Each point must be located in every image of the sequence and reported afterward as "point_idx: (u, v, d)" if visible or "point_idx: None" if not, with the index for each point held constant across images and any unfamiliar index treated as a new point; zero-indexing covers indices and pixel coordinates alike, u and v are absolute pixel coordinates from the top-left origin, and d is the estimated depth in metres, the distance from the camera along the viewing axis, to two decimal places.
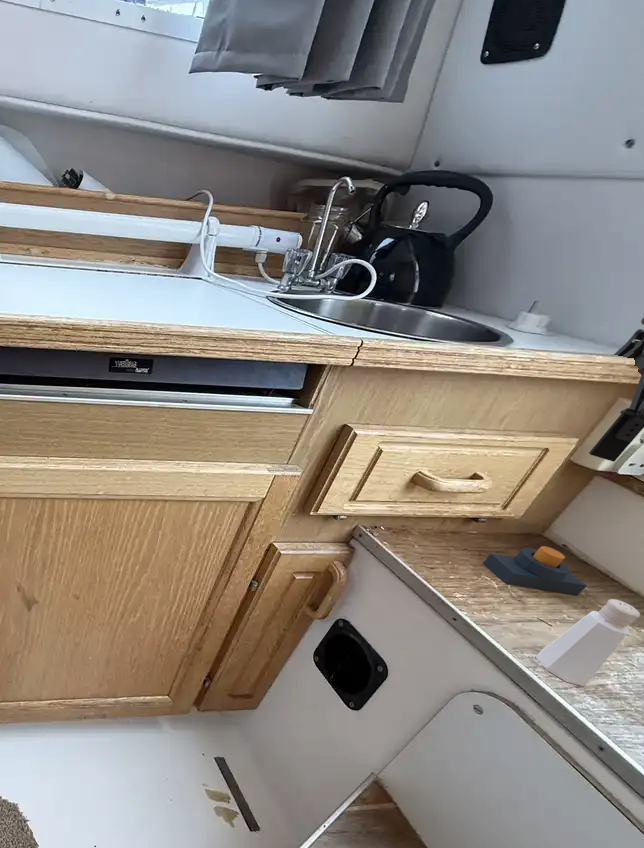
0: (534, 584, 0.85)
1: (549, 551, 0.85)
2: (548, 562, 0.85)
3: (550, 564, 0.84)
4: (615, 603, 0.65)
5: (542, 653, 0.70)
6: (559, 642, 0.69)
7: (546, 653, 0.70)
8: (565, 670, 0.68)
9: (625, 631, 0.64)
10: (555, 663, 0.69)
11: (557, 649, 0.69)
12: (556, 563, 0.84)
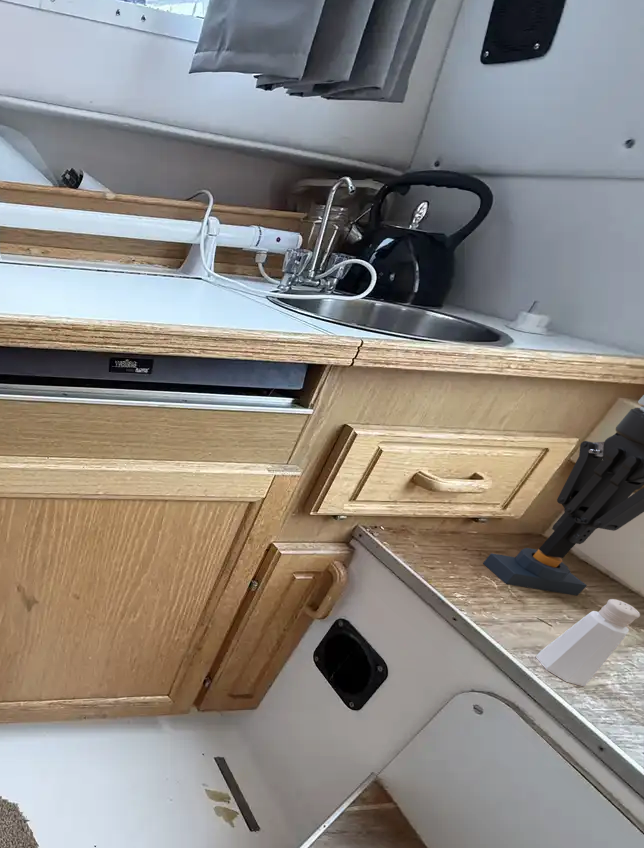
0: (534, 584, 0.85)
1: None
2: None
3: None
4: (615, 603, 0.65)
5: (542, 653, 0.70)
6: (559, 642, 0.69)
7: (546, 653, 0.70)
8: (565, 670, 0.68)
9: (625, 631, 0.64)
10: (555, 663, 0.69)
11: (557, 649, 0.69)
12: (553, 566, 0.84)
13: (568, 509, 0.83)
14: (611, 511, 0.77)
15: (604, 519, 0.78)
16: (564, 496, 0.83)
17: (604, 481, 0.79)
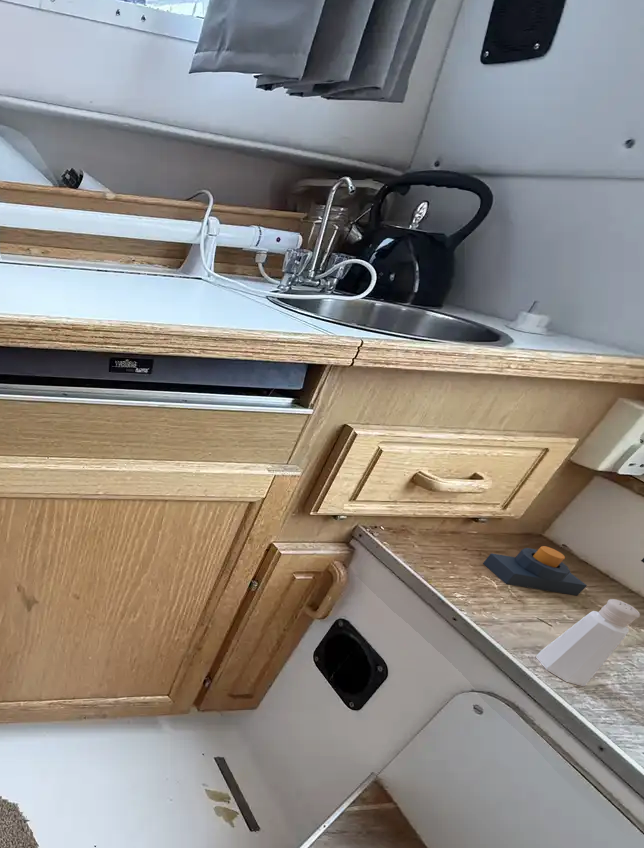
0: (534, 584, 0.85)
1: (549, 551, 0.85)
2: (548, 562, 0.85)
3: (550, 564, 0.84)
4: (615, 603, 0.65)
5: (542, 653, 0.70)
6: (559, 642, 0.69)
7: (546, 653, 0.70)
8: (565, 670, 0.68)
9: (625, 631, 0.64)
10: (555, 663, 0.69)
11: (557, 649, 0.69)
12: (556, 563, 0.84)
13: None
14: None
15: None
16: None
17: None
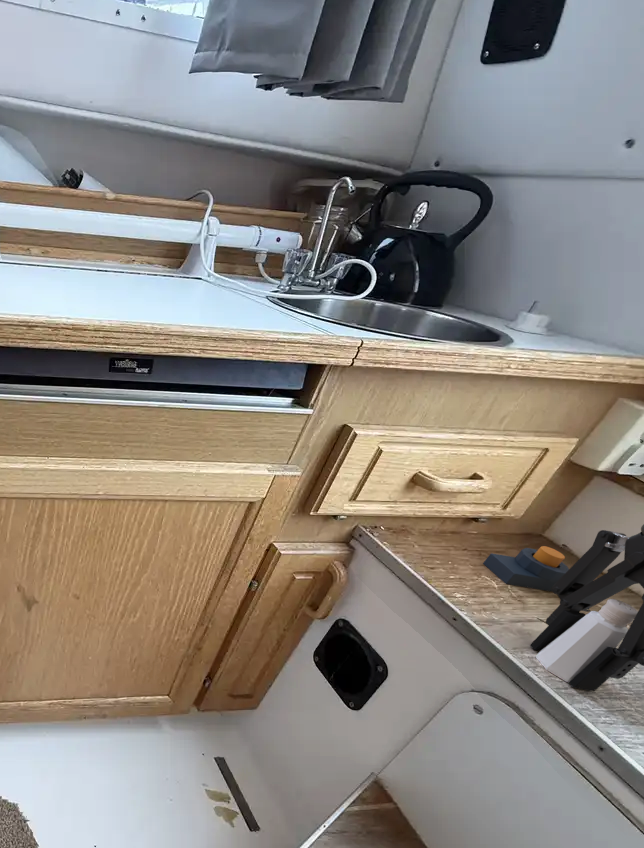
0: (534, 584, 0.85)
1: (549, 551, 0.85)
2: (548, 562, 0.85)
3: (550, 564, 0.84)
4: (615, 603, 0.65)
5: (542, 653, 0.70)
6: (559, 642, 0.69)
7: (546, 653, 0.70)
8: (565, 670, 0.68)
9: (625, 631, 0.64)
10: (555, 663, 0.69)
11: (557, 649, 0.69)
12: (556, 563, 0.84)
13: (564, 602, 0.70)
14: None
15: None
16: (561, 586, 0.70)
17: (617, 584, 0.65)
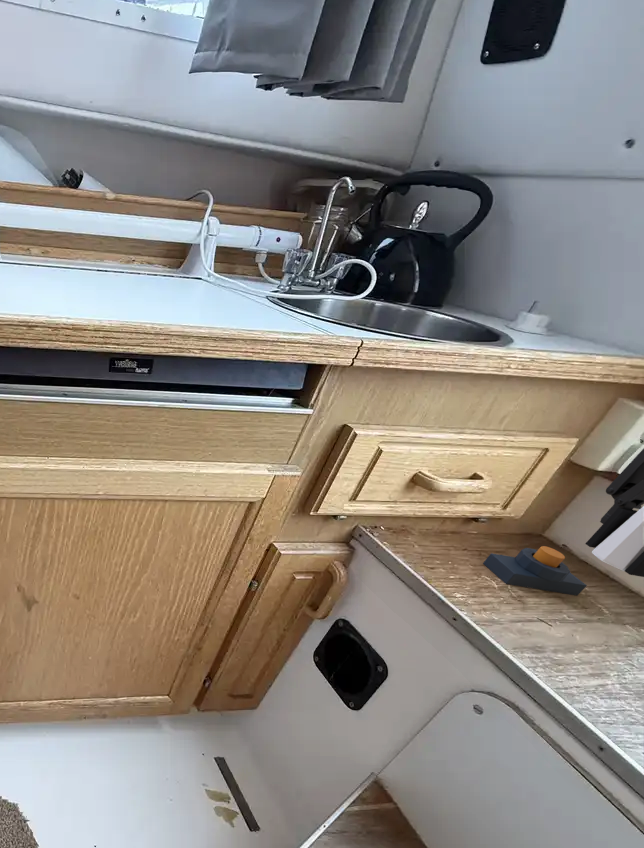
0: (534, 584, 0.85)
1: (549, 551, 0.85)
2: (548, 562, 0.85)
3: (550, 564, 0.84)
4: None
5: (598, 548, 0.77)
6: (614, 535, 0.76)
7: (602, 547, 0.77)
8: (620, 560, 0.75)
9: None
10: (611, 554, 0.75)
11: (612, 542, 0.76)
12: (556, 563, 0.84)
13: (618, 501, 0.76)
14: None
15: None
16: (615, 487, 0.77)
17: None
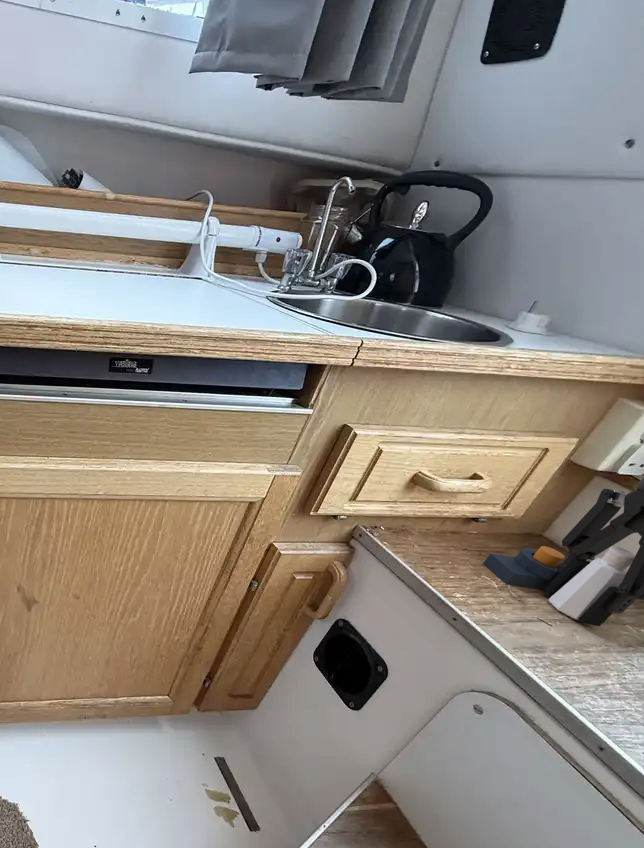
0: (534, 584, 0.85)
1: (549, 551, 0.85)
2: (548, 562, 0.85)
3: (550, 564, 0.84)
4: (616, 549, 0.76)
5: (554, 596, 0.82)
6: (568, 586, 0.80)
7: (557, 596, 0.81)
8: (574, 609, 0.79)
9: (624, 573, 0.76)
10: (565, 603, 0.80)
11: (567, 592, 0.80)
12: (556, 563, 0.84)
13: (573, 552, 0.81)
14: None
15: None
16: (570, 539, 0.82)
17: (618, 533, 0.77)
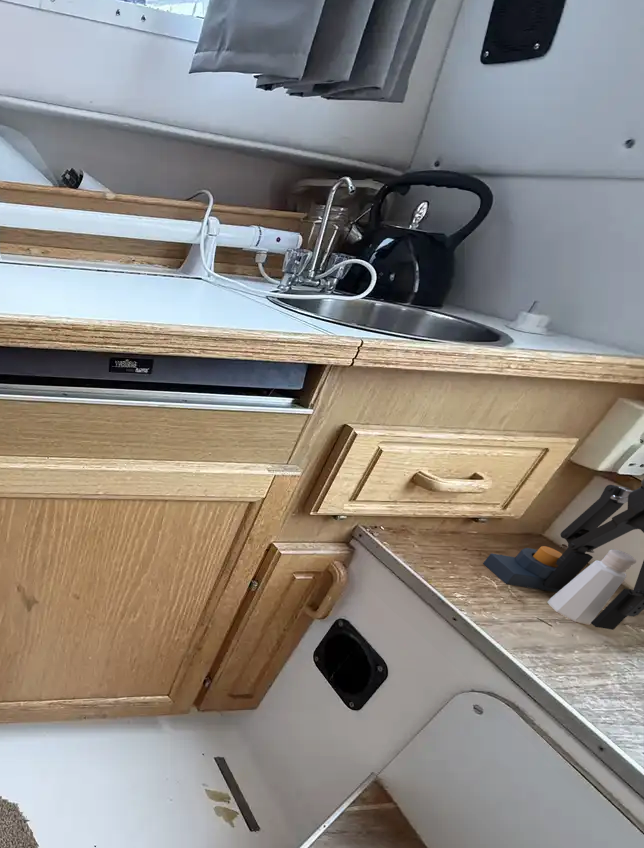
0: (534, 584, 0.85)
1: (549, 551, 0.85)
2: (548, 562, 0.85)
3: (550, 564, 0.84)
4: (615, 552, 0.76)
5: (553, 599, 0.82)
6: (567, 588, 0.80)
7: (556, 598, 0.82)
8: (573, 611, 0.80)
9: (624, 575, 0.76)
10: (564, 606, 0.80)
11: (566, 594, 0.80)
12: None
13: (571, 545, 0.81)
14: None
15: None
16: (569, 532, 0.82)
17: (619, 529, 0.77)
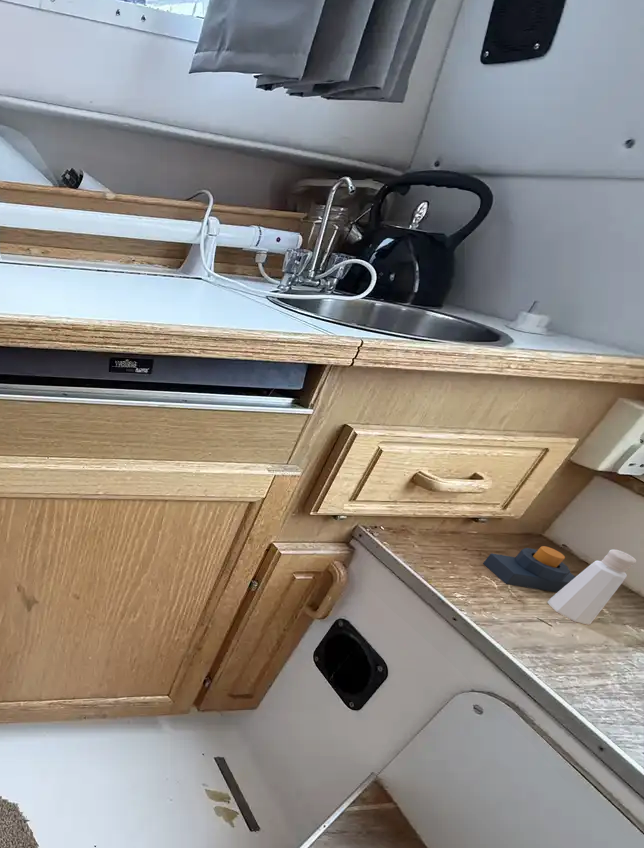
0: (534, 584, 0.85)
1: (549, 551, 0.85)
2: (548, 562, 0.85)
3: (550, 564, 0.84)
4: (615, 552, 0.76)
5: (553, 599, 0.82)
6: (567, 588, 0.80)
7: (556, 598, 0.82)
8: (573, 611, 0.80)
9: (624, 575, 0.76)
10: (564, 606, 0.80)
11: (566, 594, 0.80)
12: (556, 563, 0.84)
13: None
14: None
15: None
16: None
17: None
